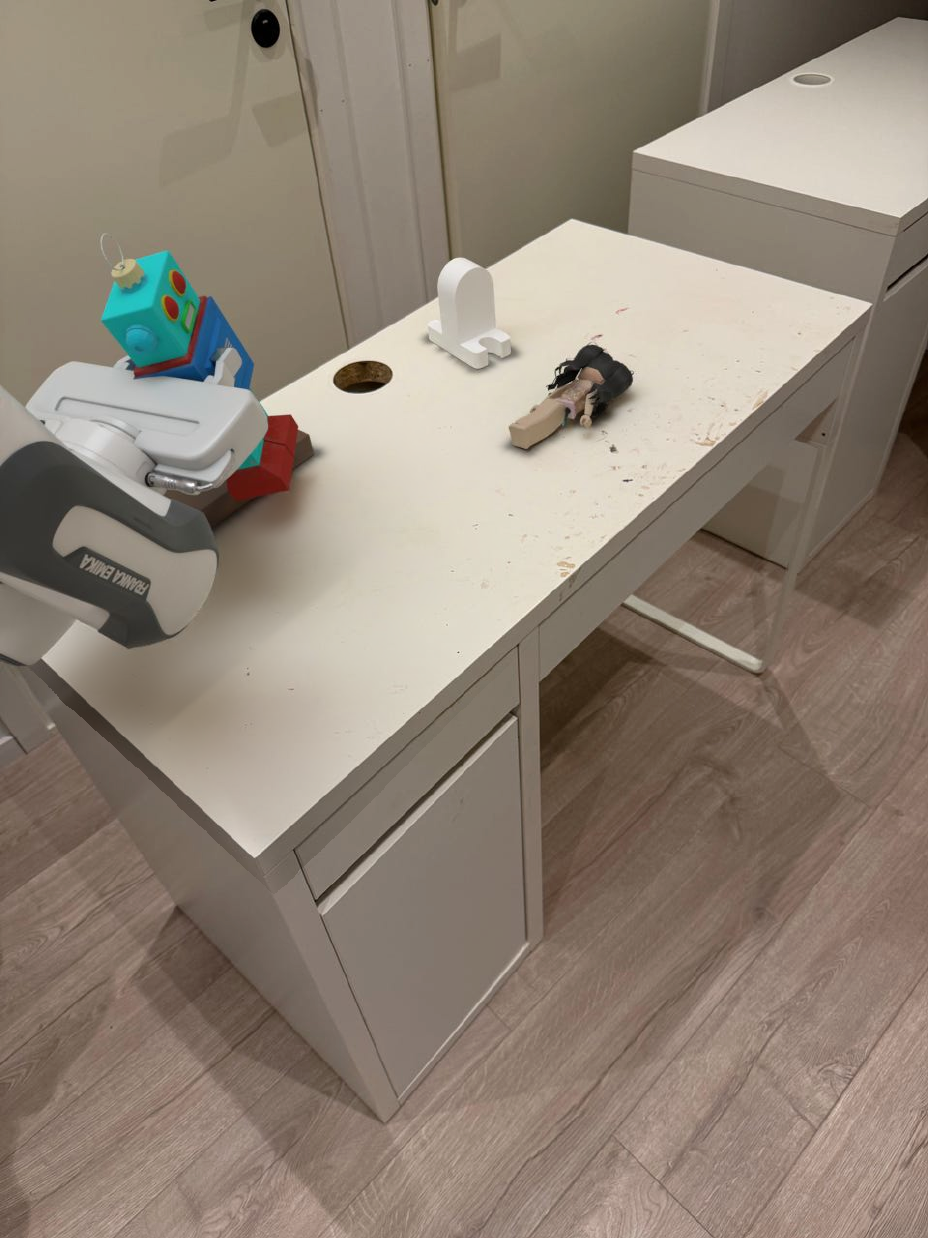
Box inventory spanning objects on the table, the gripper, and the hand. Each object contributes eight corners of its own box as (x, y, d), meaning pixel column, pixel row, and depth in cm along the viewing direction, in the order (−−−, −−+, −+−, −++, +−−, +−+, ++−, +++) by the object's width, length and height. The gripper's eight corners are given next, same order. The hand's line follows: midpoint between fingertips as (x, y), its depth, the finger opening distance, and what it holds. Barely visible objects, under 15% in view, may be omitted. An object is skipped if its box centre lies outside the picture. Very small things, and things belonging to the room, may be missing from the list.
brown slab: (126, 589, 80) (116, 569, 78) (71, 552, 85) (60, 532, 83) (314, 454, 92) (309, 434, 90) (257, 427, 96) (251, 407, 95)
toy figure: (563, 467, 87) (642, 388, 94) (554, 413, 83) (638, 334, 90) (506, 452, 91) (586, 377, 98) (495, 399, 87) (579, 325, 94)
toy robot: (287, 504, 80) (123, 274, 60) (227, 517, 82) (48, 296, 62) (300, 414, 87) (156, 179, 67) (245, 427, 88) (87, 200, 68)
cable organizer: (477, 370, 100) (470, 285, 93) (427, 338, 106) (416, 256, 99) (513, 352, 102) (509, 268, 95) (462, 322, 108) (454, 241, 101)
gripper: (188, 469, 61) (283, 331, 67) (-14, 426, 69) (86, 305, 75) (229, 524, 66) (314, 391, 72) (37, 478, 74) (126, 362, 80)
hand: (196, 347), depth 73 cm, fingers closed on toy robot, 6 cm apart
